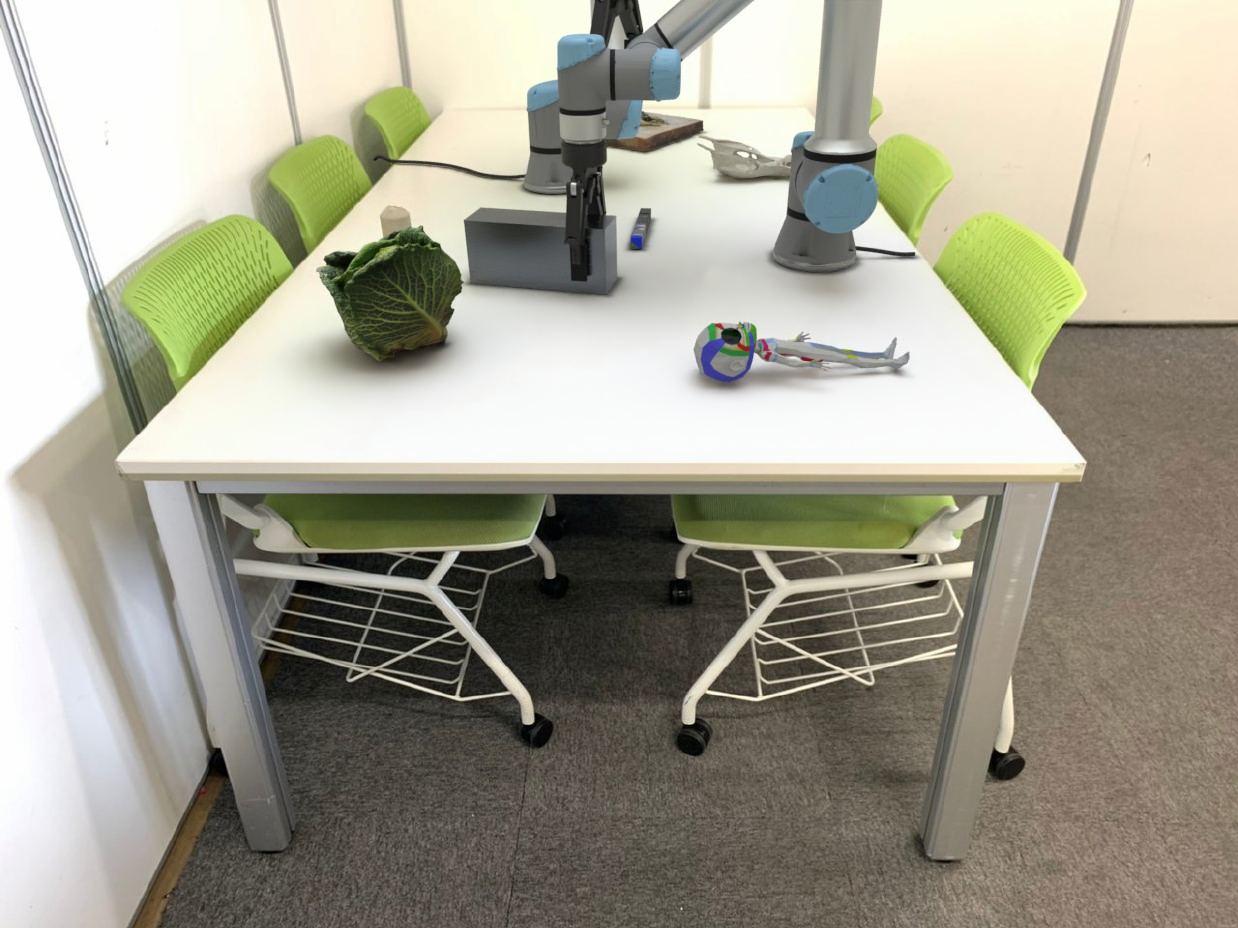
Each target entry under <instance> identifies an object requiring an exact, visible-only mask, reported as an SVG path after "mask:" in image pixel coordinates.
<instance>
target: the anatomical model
mask: <svg viewBox="0 0 1238 928" xmlns="http://www.w3.org/2000/svg"><path fill="white" fill-rule="evenodd" d="M698 138H699V139H704V140H707V141H709V142H711V143H712V145H713V146H712V147H713V149H712V148H710V147H708V146H706V145H705V144H702V143H700V142H697V143H696V144H697V146H698V147H700V148H702V149H704V150H706V151H709V152H710V154H711V155H710V156H711V159H712V169H713V170H717V171H718V173H719V174H721V175H726V176H727V175H728V176H729V177H731V178H734V179H754V178H758V177H765V176H780V177H781V176H782V177H790V169H791V157H792V154H787V155H786V156H784V157H779V156H778V157H777V156H768V155H765V154H762V153H761V151H760V150H758V149H757V148H756V147H754V146H751V145H748V144H745V143H743V142H740V141H735V140H731V139H722V138H714V137H711V136H706V135H702V134H699V135H698ZM739 153H745V154H748V156H747V157H745V156H742V155H740V154H739ZM753 155H754V156H755V157H756V158H754V157H753Z"/></svg>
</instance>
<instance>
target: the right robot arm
mask: <svg viewBox="0 0 1238 928" xmlns="http://www.w3.org/2000/svg"><path fill="white" fill-rule="evenodd" d="M754 1H755V0H679V1H678V2H677V3H676V4H675V5H673V6H672V7H671V8H670V9H669V10H668V11H666V12H665V13H664V14H663V15H662V16H661V17H660V18H659V19H658V20H656V22H655V23H653V24H652V25H651V26H649V27H648V28H647V29H646V30H645V31H643V34H642V35H640V36H637V37H635V38H634V39H633V40H632V41H631V42H630V43H629V44H628V45H627V47H626V49H609V48H606V45H605V42H604V38H603V37H602V36H601V35H597V34H590V33H573V34H567V35H563V36H562V37H560V38H559V40H558V41H557V44H556V45H557V47H556V49H557V51H556V52H557V54H556V56H557V57H556V59H557V60H556V63H557V64H556V65H557V66H556V72H557V76H556V77H557V79H558V92H559V109H560V112H559V116H560V137H561V138H562V139H564V140H563V141H562V142H561V156H562V163H563V164H564V165H565V166H567V167H571V168H572V169H573V176H572V177H571V181H570V182H567V183H566V193H565V194H566V203H565V205H566V207H565V213H566V229H565V240H564V244H569V245H570V264H571V281H582V282H587V280H588V279H587V250H586V243H584V239H585V230H586V221H587V214H595V215H607V205H606V196H605V189H604V188H605V187H604V186H605V185H604V176H603V169H604V168H603V167H604V165H605V164H606V163H607V162H608V146H607V142H606V141H605V139H603V138H604V137H605V136H606V125H608V124H609V119H607V118H606V119H605V116H606V106H605V105H606V101H607V100H611V101H616V100H640V101H643V102H644V101H645V102H647V101H648V102H649V101H651V102H652V101H656V103H659V102H662V101H673V100H676V99H678V98H679V97H680V95H681V88H682V87H681V85H682V84H681V83H682V82H681V81H682V62H683V61H684V60H685V59H686V58H687V57H689V56H690V55H691V54H692V53H694V52H695V51H696V50H697V49H698V48H699V47H701V46H702V45H703V44H704V43H705V42H707V41H708V40H709V39H710V38H711V37H712V36H714V35H715V34H717V32H718V31H720V30H721V29H722V28H723V27H724V26H726V25H727V24H728V23H729V22H730V21H732V20H733V19H734V18H735V17H736V16H738V15H739V14H740V13H741V12H742V11H743V10H745V9H746V8H747V7H748V6H749V5H750V4H752V3H753V2H754ZM883 2H884V1H883V0H823V9H822V20H821V21H822V23H821V35H820V37H821V38H820V50H819V61H818V63H819V65H818V76H817V77H818V79H817V90H816V91H817V93H816V103H815V104H816V105H815V119H814V130H807V131H801V132H798V133H796V134H795V135H794V136H793V140H792V145H791V148H790V153H791V155H792V157H791V169H790V176H789V179H788V193H787V204H786V216H785V218H784V221H783V224H782V226H781V228H780V230H779V233H778V234H777V235H778V236H777V238H776V241H775V242H774V247H773V257H772V258H773V260H774V261H775V262H776V263H777V264H780V265H781V266H784V267H786V268H788V269H793V270H796V271H801V272H802V271H803V272H813V273H826V272H827V273H828V272H835V271H841V270H845V269H847V268H849V267H851V266H853V265H854V264H855V263H856V259H857V258H856V256H857V252H867V253H875V254H881V255H887V256H893V257H901V258H902V257H905V258H908V257H915V256H916V252H915V251H895V250H888V249H882V248H876V247H875V248H874V247H868V246H859V245H856V241H855V236H854V232H853V231H854V230H856V229H858V228H859V227H861V226H863V225H864V224H865V223H866V222H867V221H868V220H869V219H870V218H871V216H872V215H873V213H874V212H875V210H876V208H877V205H878V201H879V188H878V187H879V185H878V182H877V179H876V178H875V171H876V170H875V169H876V161H877V151H878V143H877V142H876V141H875V139H874V138H873V137H872V136H871V134H870V127H871V126H870V125H871V116H872V115H871V114H872V107H873V95H874V85H875V77H876V66H877V57H878V48H879V39H880V29H881V20H882V9H883Z"/></svg>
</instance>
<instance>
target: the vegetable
mask: <svg viewBox="0 0 1238 928" xmlns="http://www.w3.org/2000/svg"><path fill="white" fill-rule="evenodd" d="M323 261H324V262H325V265H322V266H318V267H316V270H315V271H316V273H319V276H318V278H319V279H320V281H321V283H322V285H323V286H325V288H326V290H327V291H328V292H329V294H330V296H331V298H332V299H333V302H334V306H335V309H336V311H337V312H338V315H339V317H340V318H341V321H342V324H343V328H344V331H345V333H346V335H347V336H348V338H349V339H350V342H351V343H352V344H353V345H354V346H355V347H357V348H358V349H359V350H360V351H362V352H364V353H366V354H369V355H370V356H371V357H372V358H374V359H375V360H376V361H377V362H382V361H383V360H384V359H387V358H388V359H389V358H391V359H396V355H395V353H396V352H401V351H403V350H409V351H414V350H415V349H417V348H419V347H426V346H429V345H436V346H438V345H439V346H440V345H445V343H446V340H447V338H448V335H449V332H448V329H447V327H448V325H449V323H450V321H451V319H452V317H453V316H454V313H455V310H456V309H455V308H453V307H452V304H453V302H454V301H455V299H456V298H457V296H459V295H460V294H461V293H462V292H463V285H464V283H465V281H463V280H462V273H461V270H460V268H459V266H458V264H457V262H456V261H455V260H454V258H453V257H451V256H450V255H449V254H448V253H447V252H445V251H444V250H443V248H442V246H441V243H439V242H437V241H434V240H433V239H432V238H431V237H430V236H429V234H427V233H426V231H425V230H424V225H421V224H420V225H418V226H417V227H413V226H412V225H411V226H410V227H407V228H405V229H404V230H400V231H395V232H393V233H391V234H389V235H387V236H385V237H383V236H382V238H379V240H378V241H371V242H368V243H366V244H364V245H363V246H361V248H360V250H359V251H350V250H345V251H341V250H335V251H333V252H331V253H329V254H327V255H324V257H323Z"/></svg>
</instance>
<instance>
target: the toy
mask: <svg viewBox="0 0 1238 928" xmlns="http://www.w3.org/2000/svg"><path fill="white" fill-rule="evenodd" d="M757 332H758V331H757V327H756V325H754V324H753V323H752V322H747V321H743V323H742V322H740V321H738V323H731V322H718V323H716V322H711V323H710V324H708V325H707V326H705V327H704V328H703V329H702V331H701V332H700V333H699V334H698V335H697V337H696V340H695V343H694V347H693V349H692V350H693V354H694V358H695V362H696V365H697V367H698V371H699V372H700V374H702V375H704V376H706V377H707V378H709V379H712V380H715V381H718V382H724V383H731V382H735V381H737V380H739V379H742V378H743V377H745V376H746V374H747V373H748V372H749V371H750V370H751V368H752V364H753V361H754V356H755V354H756V355H757V356H758V357H759V358H760V359H761V360H762V361H764V362H765V363H777V364H779V365H784V366H787V367H789V368H797V369H798V368H799V369H800V368H802V369H803V368H813V369H820V370H823V371H827V369H830V370H831V369H832V367H831V366H827V365H830V363H834V364H835V363H836V364H845V365H849V366H853V367H856V368H860V369H875V368H876V369H877V368H878V369H879V368H884V367H890V368H892V369H894V370H897V371H898V370H899V369H900V368H902V367H904V366H906V365H907V364H908V363H909V361H910V358H911V357H910V356H911V352H910V351H907V352H905V353H904V354H903V355H901V356H899V357H898V358H894V357H895V352H896V347H897V344H898V343H897V342H898V338H897V337H896V336H895V337H894V338H893V339H892V340H891V342H890V344H889V345H888V347H886V349H885V350H884V351H878V352H877V351H875V352H869V351H860V350H854V349H846V348H839V347H836V346H834V345H828V344H824V343H817V342H810V341H807V340H811V337H807V336H809V335H810V333H806V334H804V331H801V332H800V333H799V334H797V336H796V337H795V338H793V339H787V340H784V339H779V338H776V337H775V338H774V337H768V338H762V337H761V338H758V333H757ZM803 334H804V335H803ZM790 357H796V358H798V359H794V358H790Z"/></svg>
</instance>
